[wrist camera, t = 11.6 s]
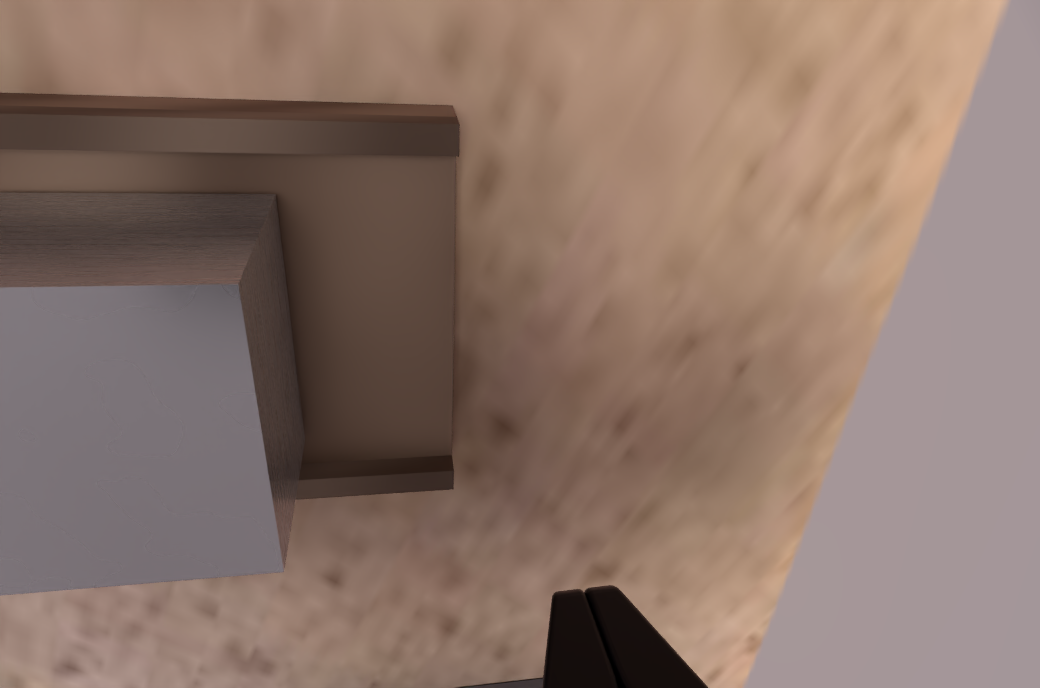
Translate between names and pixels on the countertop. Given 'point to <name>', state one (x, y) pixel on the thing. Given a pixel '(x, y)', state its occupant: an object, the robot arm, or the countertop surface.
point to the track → (302, 248)
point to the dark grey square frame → (515, 684)
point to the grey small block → (144, 390)
